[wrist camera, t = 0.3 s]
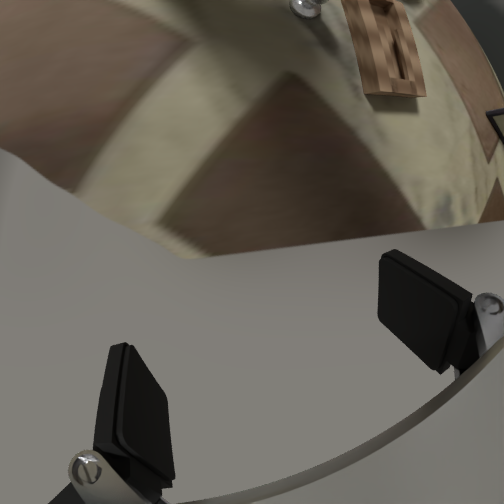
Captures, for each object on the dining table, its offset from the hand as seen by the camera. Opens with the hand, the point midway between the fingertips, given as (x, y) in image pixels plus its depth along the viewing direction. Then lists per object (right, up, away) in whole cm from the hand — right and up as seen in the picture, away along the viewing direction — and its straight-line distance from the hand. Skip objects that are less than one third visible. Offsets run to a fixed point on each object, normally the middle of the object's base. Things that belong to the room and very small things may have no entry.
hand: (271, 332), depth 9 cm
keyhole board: (+22, +39, +25) cm, 51 cm away
